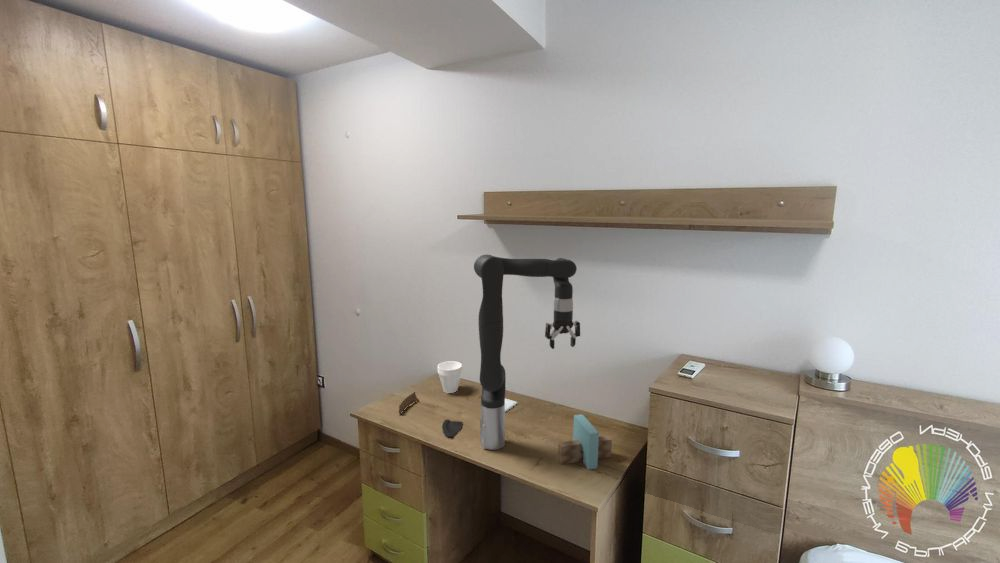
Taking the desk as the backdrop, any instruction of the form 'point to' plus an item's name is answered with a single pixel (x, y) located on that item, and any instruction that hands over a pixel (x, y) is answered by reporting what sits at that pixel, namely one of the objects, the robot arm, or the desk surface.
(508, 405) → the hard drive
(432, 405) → the desk surface
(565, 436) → the desk surface
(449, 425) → the curved wedge
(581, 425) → the teal notched plate
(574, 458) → the walnut slotted board
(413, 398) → the brown curved strip
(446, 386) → the cup
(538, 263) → the robot arm
